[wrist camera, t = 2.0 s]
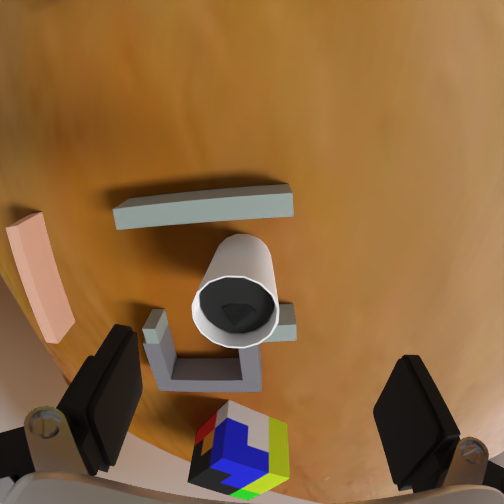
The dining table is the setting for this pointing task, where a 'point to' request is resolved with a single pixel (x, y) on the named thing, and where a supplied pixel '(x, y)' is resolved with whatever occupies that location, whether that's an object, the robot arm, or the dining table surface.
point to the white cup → (238, 294)
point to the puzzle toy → (240, 452)
